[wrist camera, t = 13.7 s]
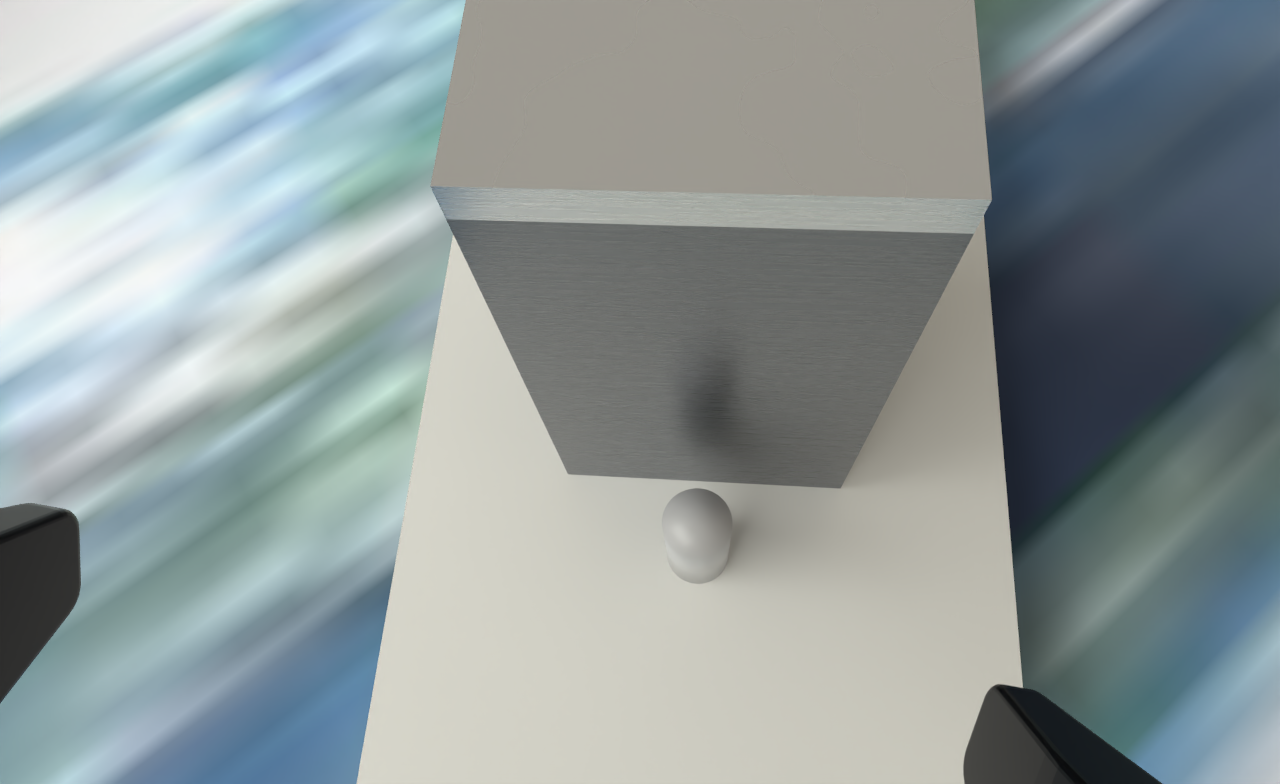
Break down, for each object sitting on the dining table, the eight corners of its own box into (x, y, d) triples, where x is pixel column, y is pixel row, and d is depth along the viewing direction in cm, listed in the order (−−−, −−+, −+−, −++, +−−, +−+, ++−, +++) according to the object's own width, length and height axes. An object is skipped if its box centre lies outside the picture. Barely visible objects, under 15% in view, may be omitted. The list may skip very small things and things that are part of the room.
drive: (840, 488, 18) (991, 199, 8) (568, 474, 18) (430, 185, 9) (837, 269, 20) (959, -165, 10) (590, 261, 20) (496, -160, 11)
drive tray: (1028, 998, 15) (1117, 1064, 12) (350, 930, 16) (262, 974, 13) (953, 12, 23) (994, -108, 20) (505, 8, 24) (475, -105, 21)
